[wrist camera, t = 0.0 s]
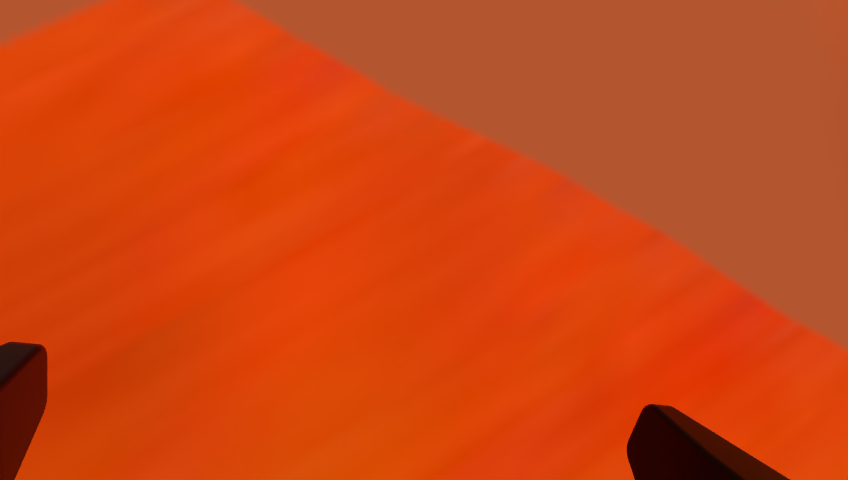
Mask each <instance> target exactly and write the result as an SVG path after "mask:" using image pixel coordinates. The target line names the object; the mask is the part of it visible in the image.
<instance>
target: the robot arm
mask: <svg viewBox="0 0 848 480" xmlns="http://www.w3.org/2000/svg"><path fill="white" fill-rule="evenodd" d="M46 402H47V352H46V349H45V348H44V347H43V346H42V345H40V344H30V343H20V342H8V343H6V344H3V345H1V346H0V480H15V477H16V475H17V473H18V470H19V468H20V466H21V464H22V461H23V459H24V457H25V454H26V452H27V450H28V448H29V445H30V443H31V441H32V438H33V436H34V434H35V432H36V429H37V427H38V425H39V422H40V420H41V418H42V415H43V413H44V410H45V406H46ZM627 456H628V460H629V463H630V466H631V469H632V472H633V475H634V478H635V480H790V479H788V478H787V477H785V476H783V475H782V474H780V473H778V472H777V471H775V470H774V469H772V468H770V467H769V466H767V465H766V464H764V463H762V462H761V461H759V460H758V459H756V458H754V457H753V456H751V455H749V454H748V453H746V452H745V451H743V450H741V449H740V448H738V447H737V446H735V445H733V444H732V443H730V442H729V441H727V440H725V439H724V438H722V437H720V436H719V435H717V434H716V433H714V432H712V431H711V430H709V429H708V428H706V427H704V426H703V425H701V424H700V423H698V422H696V421H695V420H693V419H691V418H690V417H688V416H687V415H685V414H683V413H682V412H680V411H679V410H677V409H675V408H674V407H671V406H667V405H656V404H649V405H647V406H645V407H644V408H643V410H642V411H641V414H640V416H639V418H638V420H637V422H636V425H635V427H634V429H633V431H632V434H631V436H630V438H629V440H628V444H627Z"/></svg>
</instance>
